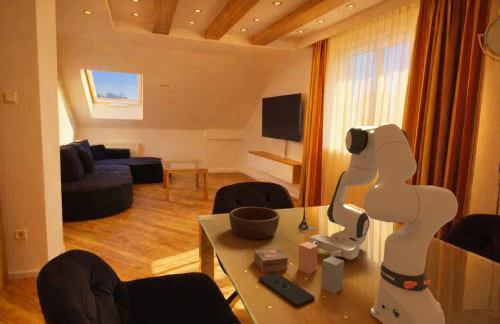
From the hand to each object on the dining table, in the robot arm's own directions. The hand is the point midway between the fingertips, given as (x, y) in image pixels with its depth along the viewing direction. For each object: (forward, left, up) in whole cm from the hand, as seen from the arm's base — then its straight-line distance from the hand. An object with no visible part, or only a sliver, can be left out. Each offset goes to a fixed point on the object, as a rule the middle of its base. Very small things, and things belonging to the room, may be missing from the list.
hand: (321, 250), depth 127 cm
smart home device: (-16, +21, -6) cm, 27 cm away
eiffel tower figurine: (+41, -10, -6) cm, 43 cm away
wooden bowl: (+38, +19, -6) cm, 42 cm away
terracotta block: (-4, +8, -6) cm, 10 cm away
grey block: (-18, +5, -6) cm, 20 cm away
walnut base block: (+2, +21, -6) cm, 21 cm away
